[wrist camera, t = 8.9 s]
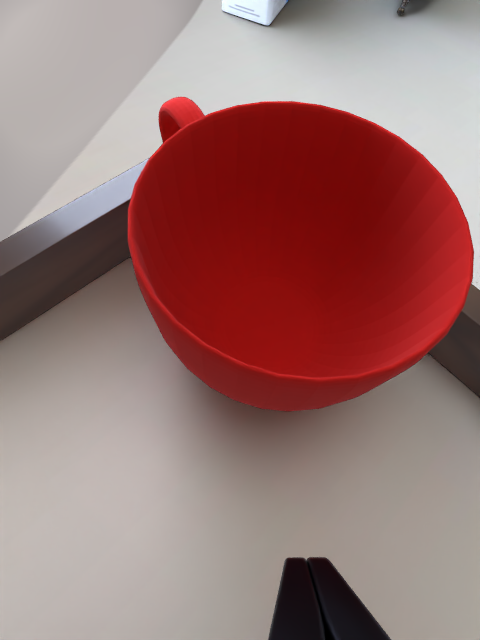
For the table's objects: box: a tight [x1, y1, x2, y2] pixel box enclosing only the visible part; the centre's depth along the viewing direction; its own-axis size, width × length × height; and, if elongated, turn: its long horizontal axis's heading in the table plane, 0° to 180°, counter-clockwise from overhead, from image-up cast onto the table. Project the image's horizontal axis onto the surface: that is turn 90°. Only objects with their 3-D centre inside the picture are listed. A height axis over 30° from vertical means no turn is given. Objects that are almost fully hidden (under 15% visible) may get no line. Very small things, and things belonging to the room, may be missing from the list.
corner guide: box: [0, 158, 480, 397], centre depth 21 cm, size 26×22×4 cm
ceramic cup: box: [128, 97, 474, 411], centre depth 21 cm, size 13×17×10 cm
